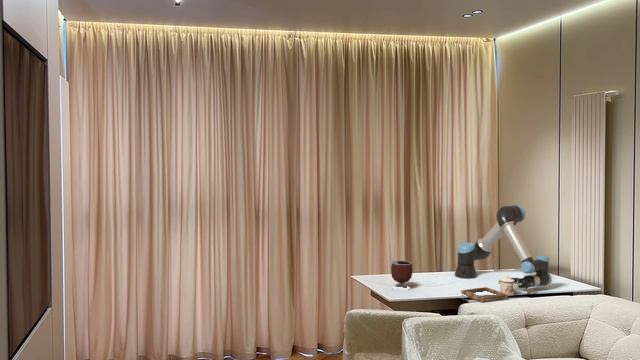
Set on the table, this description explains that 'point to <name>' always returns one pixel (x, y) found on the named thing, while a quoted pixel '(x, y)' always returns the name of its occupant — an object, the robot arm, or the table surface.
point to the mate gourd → (401, 271)
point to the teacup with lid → (507, 285)
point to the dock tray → (485, 298)
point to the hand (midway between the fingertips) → (505, 284)
